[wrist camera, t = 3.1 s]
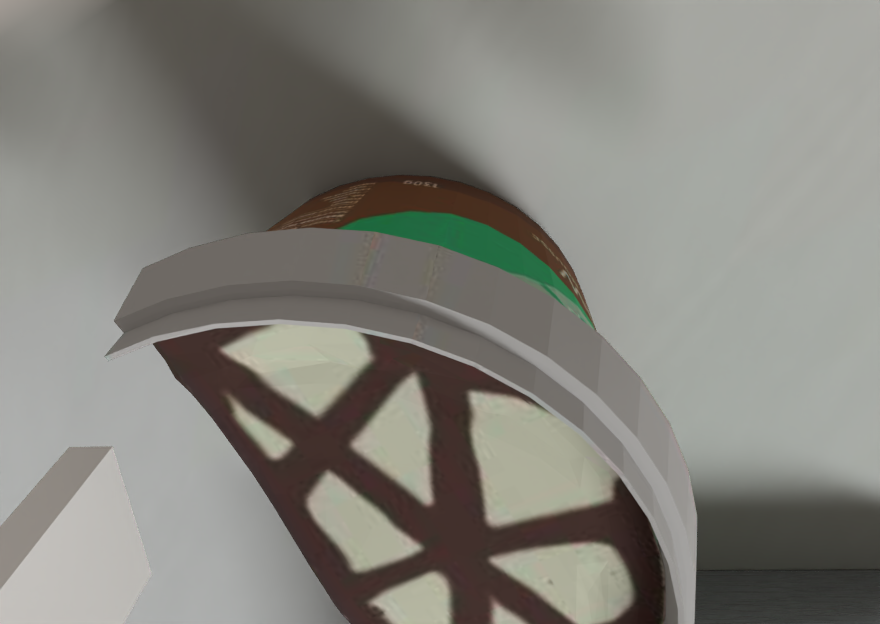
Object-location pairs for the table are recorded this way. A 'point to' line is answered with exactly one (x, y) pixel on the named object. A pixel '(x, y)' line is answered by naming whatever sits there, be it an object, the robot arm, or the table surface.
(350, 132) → the table surface
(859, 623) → the grey flat box
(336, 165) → the table surface
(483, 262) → the food container
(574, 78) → the table surface
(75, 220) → the table surface
